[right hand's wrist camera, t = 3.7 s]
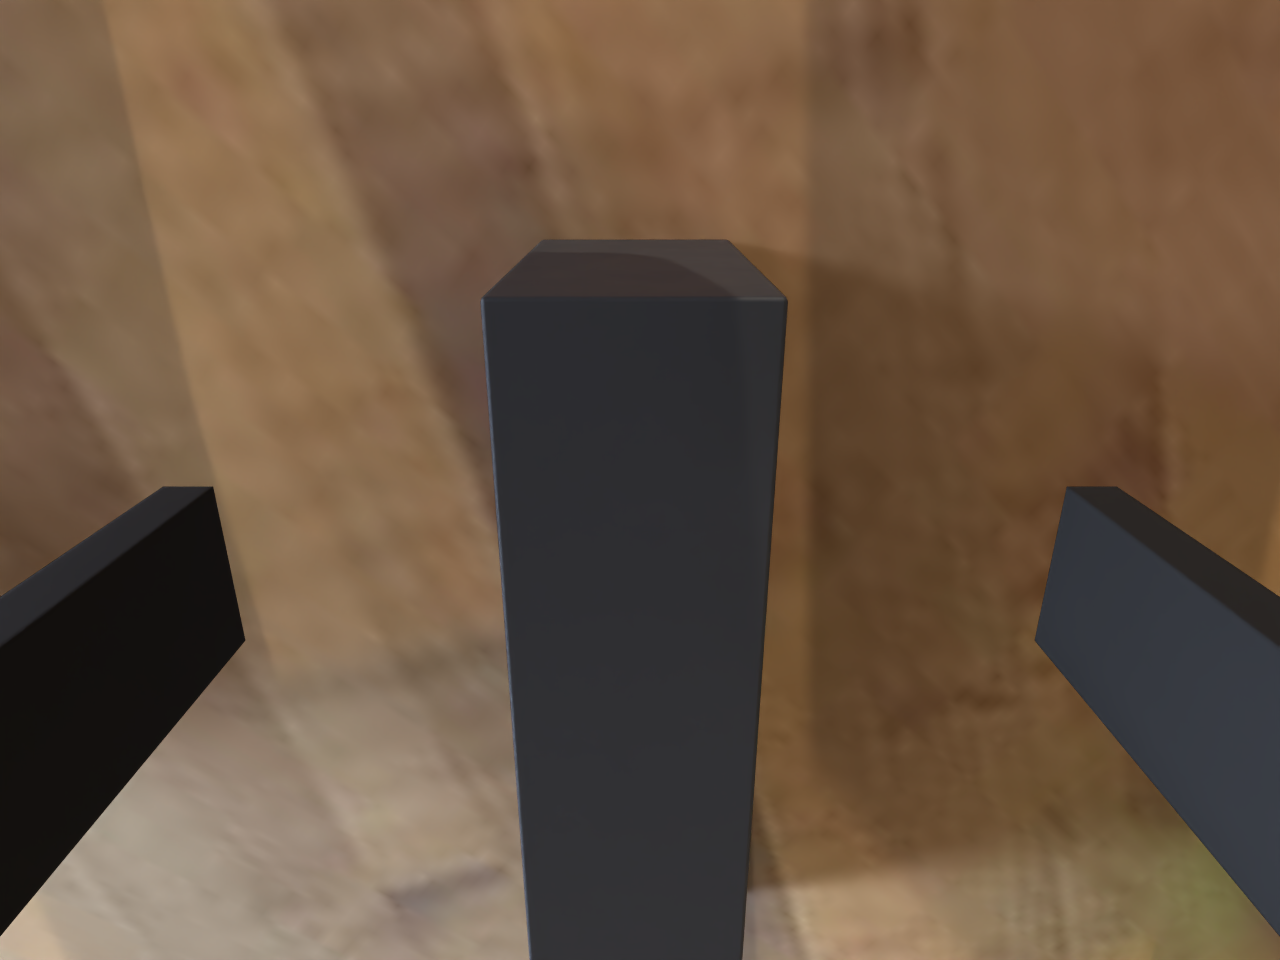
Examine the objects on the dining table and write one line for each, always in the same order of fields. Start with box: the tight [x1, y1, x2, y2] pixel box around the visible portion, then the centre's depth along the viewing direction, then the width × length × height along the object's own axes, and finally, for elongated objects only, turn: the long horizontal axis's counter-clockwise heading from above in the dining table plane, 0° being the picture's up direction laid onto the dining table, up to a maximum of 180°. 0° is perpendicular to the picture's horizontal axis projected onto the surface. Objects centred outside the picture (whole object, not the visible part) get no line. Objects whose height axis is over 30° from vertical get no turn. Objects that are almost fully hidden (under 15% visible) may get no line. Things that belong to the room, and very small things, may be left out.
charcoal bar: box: [481, 240, 788, 960], centre depth 22 cm, size 24×5×9 cm, turn 0°
